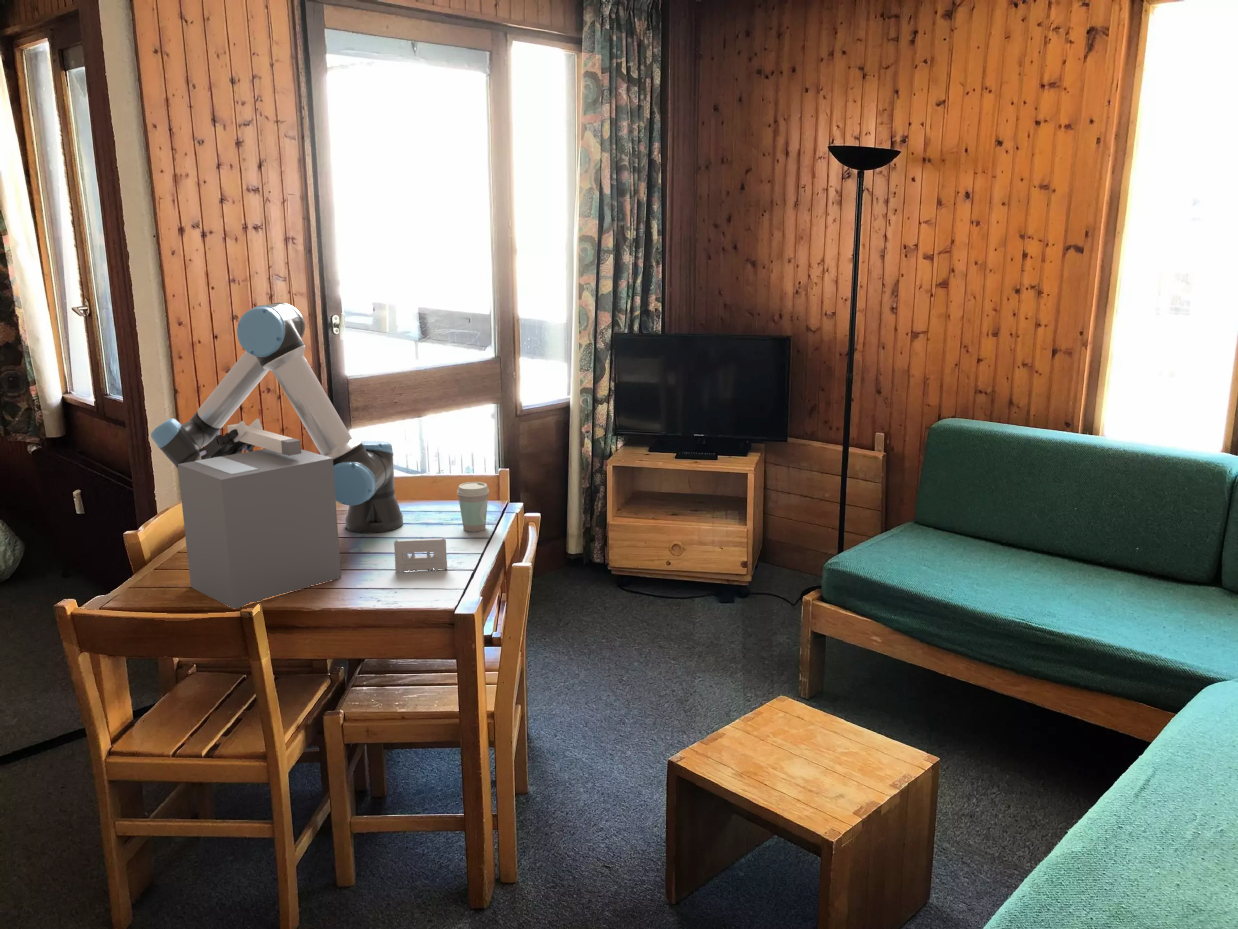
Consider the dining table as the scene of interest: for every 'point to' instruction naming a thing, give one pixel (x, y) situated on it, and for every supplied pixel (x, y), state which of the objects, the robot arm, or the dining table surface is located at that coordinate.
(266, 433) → the bar
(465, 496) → the coffee cup
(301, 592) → the dining table surface
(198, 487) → the grey box
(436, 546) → the cassette
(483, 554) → the dining table surface
